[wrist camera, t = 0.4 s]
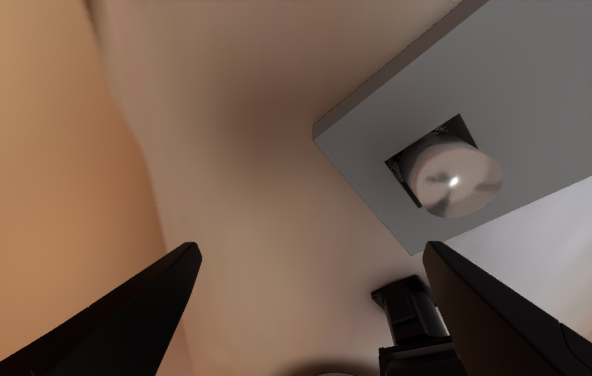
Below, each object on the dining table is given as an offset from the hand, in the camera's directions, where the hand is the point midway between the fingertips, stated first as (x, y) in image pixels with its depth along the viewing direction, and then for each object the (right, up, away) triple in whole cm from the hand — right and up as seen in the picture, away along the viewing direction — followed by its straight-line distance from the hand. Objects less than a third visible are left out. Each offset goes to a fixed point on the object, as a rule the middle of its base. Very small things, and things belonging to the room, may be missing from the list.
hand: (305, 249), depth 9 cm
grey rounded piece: (+10, +4, +8) cm, 13 cm away
